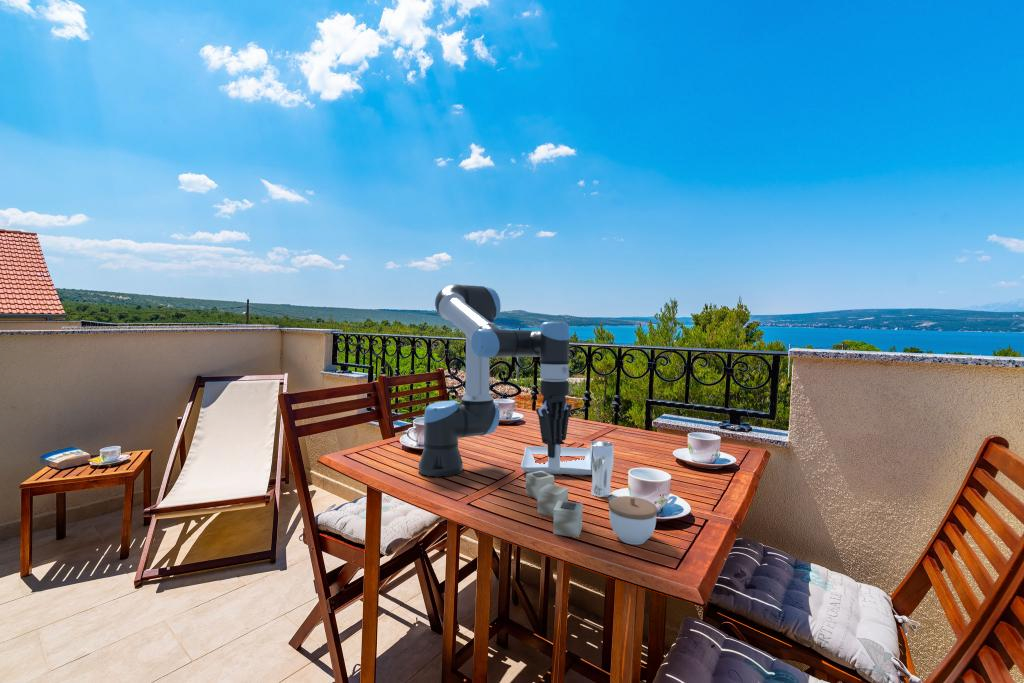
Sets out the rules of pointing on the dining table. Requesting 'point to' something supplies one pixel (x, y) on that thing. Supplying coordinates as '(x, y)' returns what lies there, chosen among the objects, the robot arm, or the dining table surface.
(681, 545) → the dining table surface
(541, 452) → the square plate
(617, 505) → the lidded jar
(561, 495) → the plain block
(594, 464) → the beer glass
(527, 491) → the marked block
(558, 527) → the marked block
